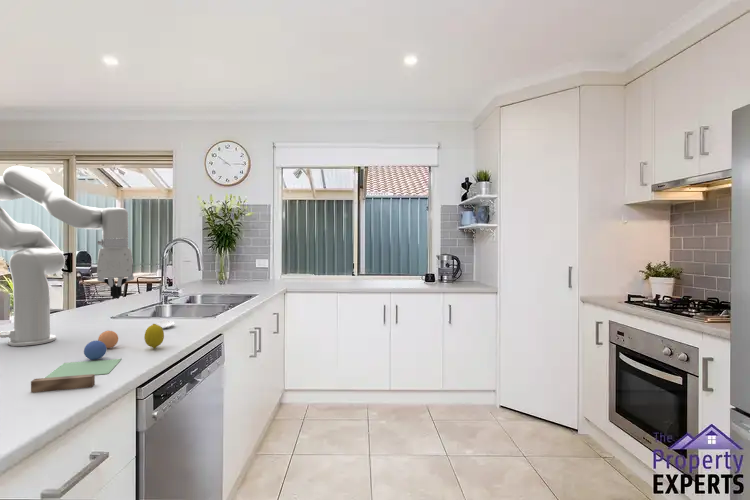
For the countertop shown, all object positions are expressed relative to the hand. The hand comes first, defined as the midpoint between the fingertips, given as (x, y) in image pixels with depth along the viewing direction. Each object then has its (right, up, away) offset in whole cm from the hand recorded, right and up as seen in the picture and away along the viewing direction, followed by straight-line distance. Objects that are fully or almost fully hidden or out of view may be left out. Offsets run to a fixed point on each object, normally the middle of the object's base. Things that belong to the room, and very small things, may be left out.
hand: (116, 298), depth 146 cm
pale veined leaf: (+4, -15, +24) cm, 28 cm away
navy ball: (+7, -13, -22) cm, 26 cm away
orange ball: (+3, -12, -9) cm, 15 cm away
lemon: (+18, -15, -9) cm, 25 cm away
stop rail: (+15, -16, -46) cm, 51 cm away
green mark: (+10, -16, -30) cm, 36 cm away
